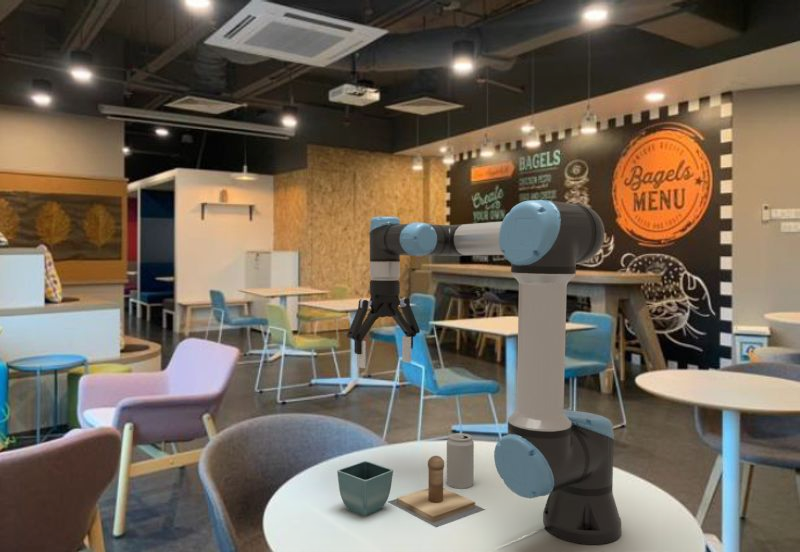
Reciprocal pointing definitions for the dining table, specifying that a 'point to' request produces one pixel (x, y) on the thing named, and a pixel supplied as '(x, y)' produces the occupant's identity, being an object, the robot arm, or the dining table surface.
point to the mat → (443, 521)
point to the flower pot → (365, 487)
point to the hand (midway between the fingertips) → (384, 364)
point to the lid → (435, 496)
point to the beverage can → (460, 461)
